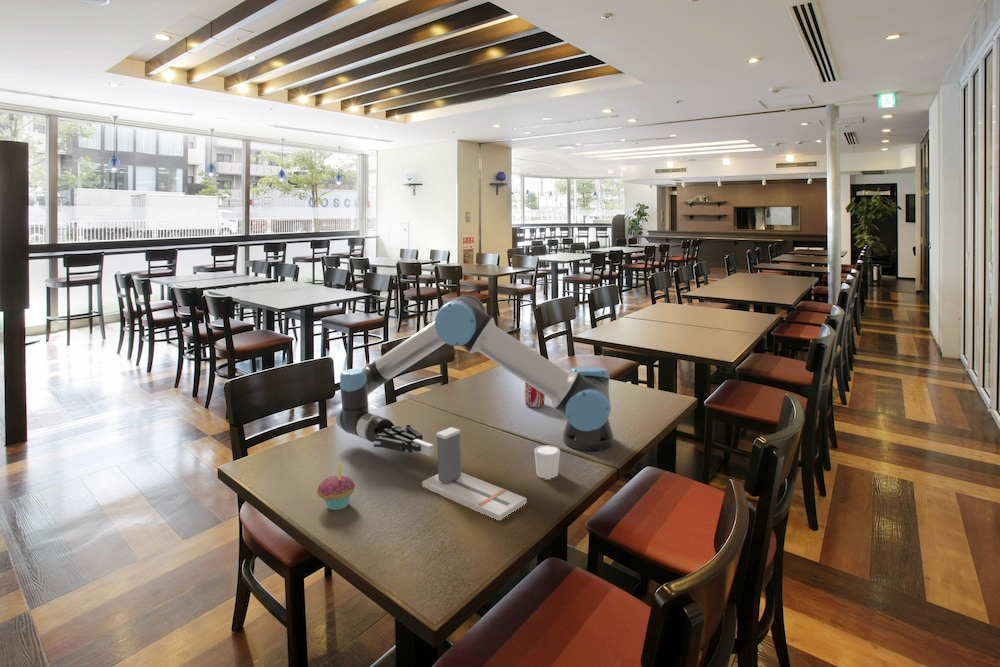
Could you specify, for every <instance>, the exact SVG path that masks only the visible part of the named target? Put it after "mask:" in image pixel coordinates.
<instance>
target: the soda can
mask: <svg viewBox="0 0 1000 667" xmlns="http://www.w3.org/2000/svg"><path fill="white" fill-rule="evenodd" d="M524 388H525V389H524V397H525V398H524V399H525V405H526V406H527V407H529V406H530V408H532V407H538V408H541V407H542V406H544V404H545V398H546V395H544V394H543V393H541V392H540V391H538V390H537V389H535V388H533V387H532V386H530V385H529V384H527V383H526V382H524ZM540 406H541V407H540Z"/></svg>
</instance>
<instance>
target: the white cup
mask: <svg viewBox="0 0 1000 667" xmlns="http://www.w3.org/2000/svg"><path fill="white" fill-rule="evenodd" d="M560 457H561V449H560V448H559V447H558V446H554V445H549V444H548V445H547V444H545V445H539V446H537V447H535V448H534V460H535V471H536V476H537V475H538V476H539V477H541V478H545V479H544V480H552V479H551V478H554V477H556V476H557V477H558V476H559V467H560V466H559V465H560ZM538 476H537V477H538ZM539 477H538V478H539ZM557 477H556V478H557ZM541 478H540V479H541ZM554 479H555V478H554Z"/></svg>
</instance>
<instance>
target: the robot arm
mask: <svg viewBox="0 0 1000 667" xmlns="http://www.w3.org/2000/svg"><path fill="white" fill-rule="evenodd" d="M445 344H447V345H449V346H453V347H454V346H455V347H460V348H462V349H464V350H465V351H466V352H468V353H470V354H473V353H477V352H478V353H480V354H481V355H483V356H484V357H486V358H488V359H489V360H491V361H492V362H493V363H495V364H497V365H498V366H500V367H501V368H503V369H504V370H506V371H507V372H509V373H511V374H512V375H514V376H516V377H517V378H518V379H519V380H521V381H523V382H524V383H525V382H526V383H527V384H529V385H530V386H532V387H533V388H535V389H537V390H538V391H540V392H541V393H543V394H544V395H545V397H548V398H549V399H550V400H551V403H552V406H553V409H556V410H557V411H559V412H561V413H562V415H565V417H566V420H567V421H566V423H565V427H564V430H563V432H562V441H563V443H564V444H565V445H566V446H567V447H569V448H572V449H575V450H580V451H585V452H587V451H586V450H588V452H594V451H593V450H597V451H602V450H601V449H603V450H606V449H609V448H610V447H612V446H613V444H614V433H613V430H612V427H611V423H610V420H609V417H610V414H611V410H612V405H611V400H610V378H611V377H610V372H609V370H608V369H607V368H603V367H598V366H576V367H572V368H571V369H570V370H569V372H567V371H566V370H564V369H563V368H561V367H560V366H558V365H556V363H553V362H552V361H551V360H549V359H547V358H546V357H545V356H542V355H541V354H540V353H538V352H537V351H535V350H534V349H533V348H530V347H529V346H527V345H526V344H525V343H523V342H521V341H520V340H518V339H517V338H515V337H513V336H512V335H511V334H509V333H507V332H506V331H505V330H503V329H501V328H500V327H498V326H497V325H496V322H495V319H494V317H493V316H491V315H490V314H488V313H487V312H486V308H485V306H484V304H483V302H482V301H481V300H480V299H479V298H477V297H475V296H473V295H469V294H468V295H467V294H464V295H459V296H457V297H455V298H453V299H451V300H448V301H447V302H445V303H444V304H443V305H442V306H441V307H440V308H439V309H438V311H437V312H436V315H435V318H434V321H431V323H428V325H426V326H424V327H423V328H422V329H420V330H419V331H417V332H416V333H414V334H413V335H411V336H410V337H408V338H407V339H405V340H404V341H402V342H401V343H399V344H398V345H396V346H395V347H393V348H392V349H391V350H389V351H387V352H386V353H384V354H383V355H382V356H380V357H379V358H377V359H376V360H373V361H372V362H371V363H369V364H368V365H366V366H364V367H363V368H349V369H346V370H343V371H342V372H341V373H340V375H339V387H340V397H341V406H342V408H340V409H339V411H338V412H337V415H336V424H337V426H338V427H339V429H340V430H342V431H345V432H346V433H348V434H350V435H351V434H352V435H355V436H357V437H359V438H362V439H363V440H366V441H368V442H370V443H373V447H374V448H383V449H388V450H393V451H396V452H397V451H398V452H406V450H407V452H408V453H409V454H411V453H413V451H414V452H417V453H420V454H423V455H426V456H428V457H431V456H433V455H434V454H435V453H434V449H435V448H434V444H433V443H429V442H427V441H425V440H424V436H423V434H422V433H420V432H419V431H417V430H415V429H414V428H413V427H411V425H410V424H407V425H405V426H404V427H402V428H401V426H399V425H397V426H396V425H395V424H394V423H393V421H391V420H390V419H388V418H386V417H381V415H380V416H379V415H377V414H374V413H371V412H369V398H368V397H369V395H370V394H372V392H374V391H375V390H377V389H378V388H380V387H381V386H383V385H384V384H385V383H387V382H388V381H389V380H391V379H393V378H394V377H395V376H397V375H399V374H400V373H402V372H404V371H406V370H407V369H408V368H410V367H411V366H413V365H415V364H416V363H417V362H418V361H421V360H422V359H423V358H425V357H427V356H428V355H430V354H431V353H432V352H434V351H435V350H438V349H439V348H440V347H442V346H443V345H445ZM611 445H612V446H611ZM608 447H609V448H608ZM605 448H606V449H605Z"/></svg>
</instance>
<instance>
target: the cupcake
mask: <svg viewBox="0 0 1000 667" xmlns="http://www.w3.org/2000/svg"><path fill="white" fill-rule="evenodd" d="M337 472H338V473H337V475H334V476H332V475H331V476H328V477H327V478H325V479H323V480H322V481H320V483H319V485H318V487H317V492H316V493H317V496H318V497H319V498H321V499H323V500H324V503H325V504H326V506H327V508H328V509H329V510H331V509H332V510H331V511H339V510H343V509H345V508H346V507H348V506H349V502H350V498H351V495H352V494H353V493H354V490H355V487H356V484H355V483H354V481H353V479H352V478H350V477H349V476H345V475H342V460H340V462H338V471H337Z"/></svg>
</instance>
